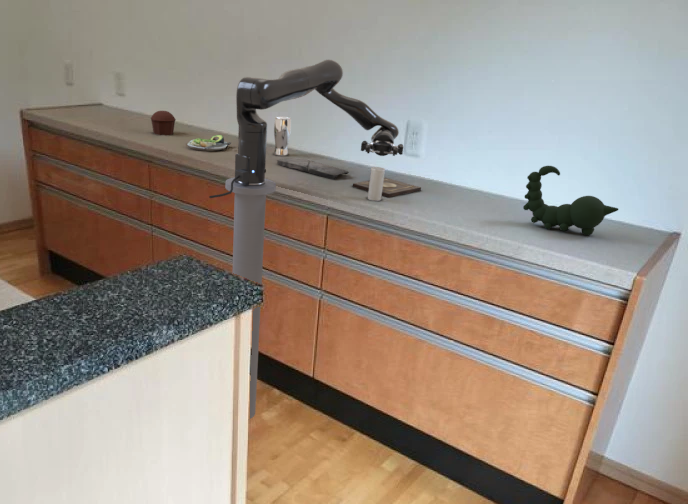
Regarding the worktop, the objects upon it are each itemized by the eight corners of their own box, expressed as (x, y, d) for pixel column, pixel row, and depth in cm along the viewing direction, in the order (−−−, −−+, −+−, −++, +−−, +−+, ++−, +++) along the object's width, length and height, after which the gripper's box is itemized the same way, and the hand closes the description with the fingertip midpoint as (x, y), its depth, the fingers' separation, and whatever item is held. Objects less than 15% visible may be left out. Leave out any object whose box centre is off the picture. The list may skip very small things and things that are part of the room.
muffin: (146, 132, 282) (145, 109, 278) (166, 130, 289) (166, 108, 285) (159, 136, 274) (159, 113, 270) (180, 134, 281) (180, 112, 277)
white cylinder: (375, 201, 194) (379, 170, 190) (364, 198, 197) (368, 167, 193) (383, 199, 197) (387, 169, 193) (373, 196, 200) (377, 166, 196)
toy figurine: (518, 230, 180) (611, 242, 168) (526, 166, 173) (624, 173, 161) (524, 223, 188) (614, 234, 175) (532, 161, 181) (627, 168, 168)
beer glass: (291, 156, 252) (293, 119, 246) (275, 156, 250) (277, 118, 244) (285, 152, 258) (288, 116, 252) (270, 152, 256) (272, 116, 249)
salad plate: (226, 154, 247) (226, 142, 245) (182, 150, 248) (182, 139, 246) (232, 145, 265) (233, 134, 263) (192, 142, 265) (192, 131, 264)
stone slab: (334, 174, 216) (275, 155, 234) (332, 182, 218) (275, 163, 236) (352, 171, 223) (294, 153, 241) (350, 179, 225) (293, 161, 243)
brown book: (388, 197, 200) (388, 193, 199) (352, 186, 210) (352, 182, 210) (420, 190, 211) (421, 186, 211) (385, 180, 222) (385, 177, 221)
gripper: (364, 130, 215) (361, 138, 201) (404, 134, 213) (404, 142, 199) (362, 151, 219) (358, 160, 204) (401, 155, 217) (401, 164, 202)
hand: (381, 151), depth 201 cm, fingers open, 8 cm apart
